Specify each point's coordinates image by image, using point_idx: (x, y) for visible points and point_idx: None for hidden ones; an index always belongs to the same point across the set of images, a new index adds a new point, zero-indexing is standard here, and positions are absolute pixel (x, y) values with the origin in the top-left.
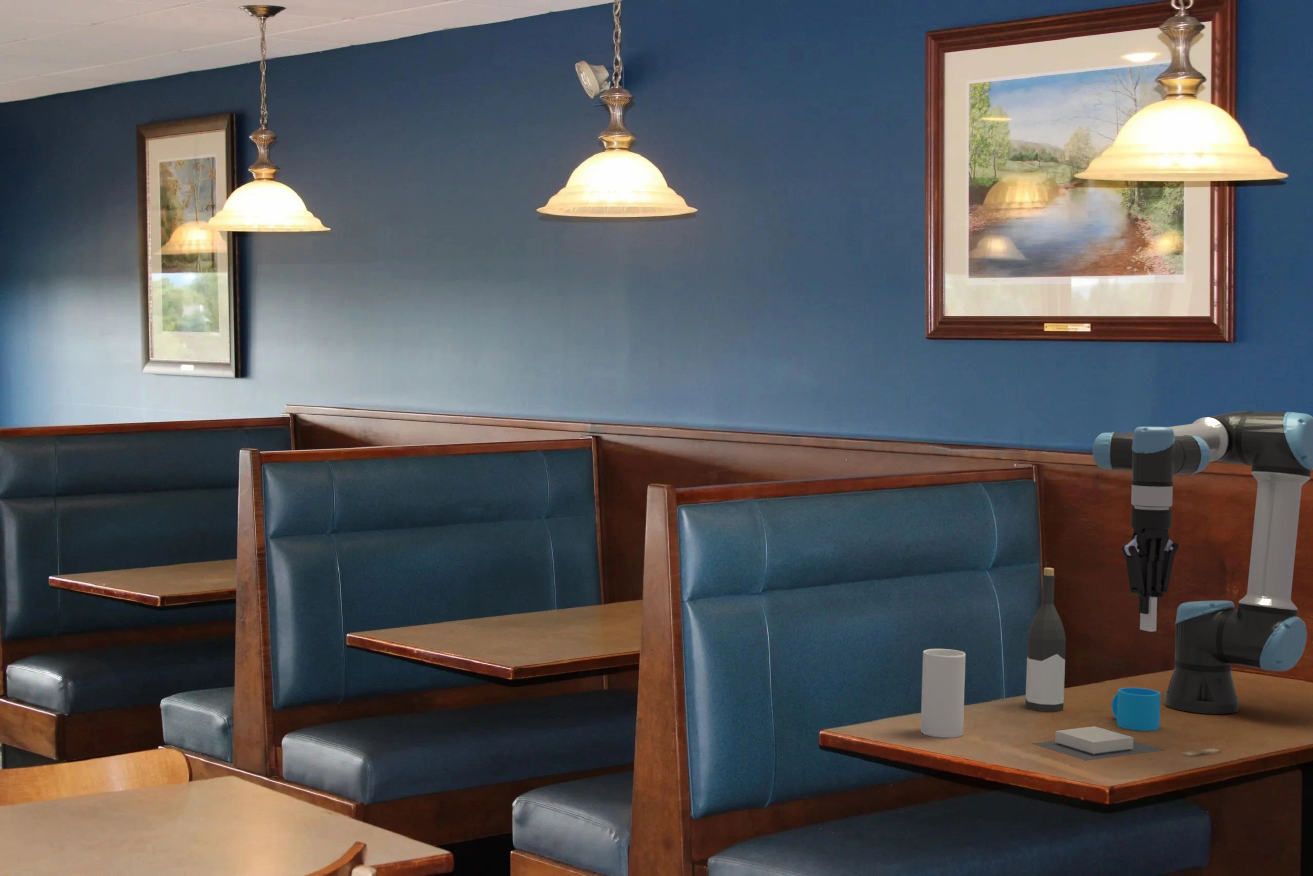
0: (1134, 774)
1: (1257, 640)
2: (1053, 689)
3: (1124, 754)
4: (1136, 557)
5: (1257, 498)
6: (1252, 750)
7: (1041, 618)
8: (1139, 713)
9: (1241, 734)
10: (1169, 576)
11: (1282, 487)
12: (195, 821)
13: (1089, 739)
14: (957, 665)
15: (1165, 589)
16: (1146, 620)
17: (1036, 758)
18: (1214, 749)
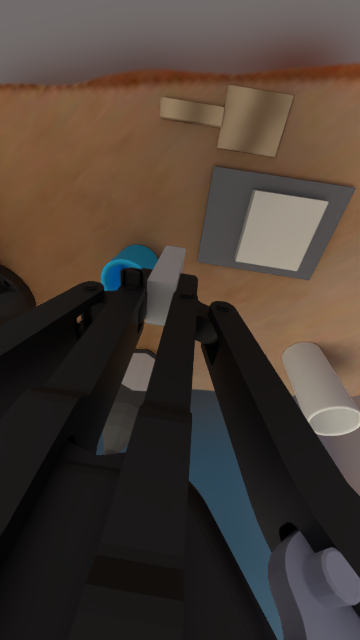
0: (351, 110)
1: None
2: (144, 364)
3: (284, 179)
4: (330, 483)
5: None
6: (78, 114)
7: (130, 435)
8: (148, 261)
9: (33, 191)
10: (34, 312)
11: None
12: None
13: (314, 217)
14: (342, 398)
15: (93, 285)
16: (181, 272)
17: (344, 251)
18: (164, 108)
